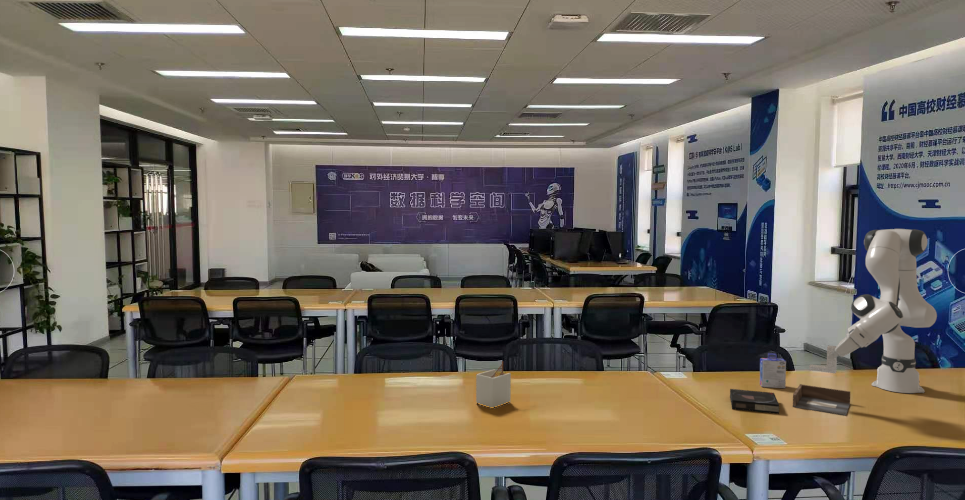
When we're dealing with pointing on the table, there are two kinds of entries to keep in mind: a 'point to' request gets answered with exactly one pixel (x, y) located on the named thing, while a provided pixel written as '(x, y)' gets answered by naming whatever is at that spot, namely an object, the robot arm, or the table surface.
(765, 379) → the ink cartridge box
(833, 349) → the angle bracket
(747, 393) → the flat black box
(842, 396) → the corner arena
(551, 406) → the table surface
